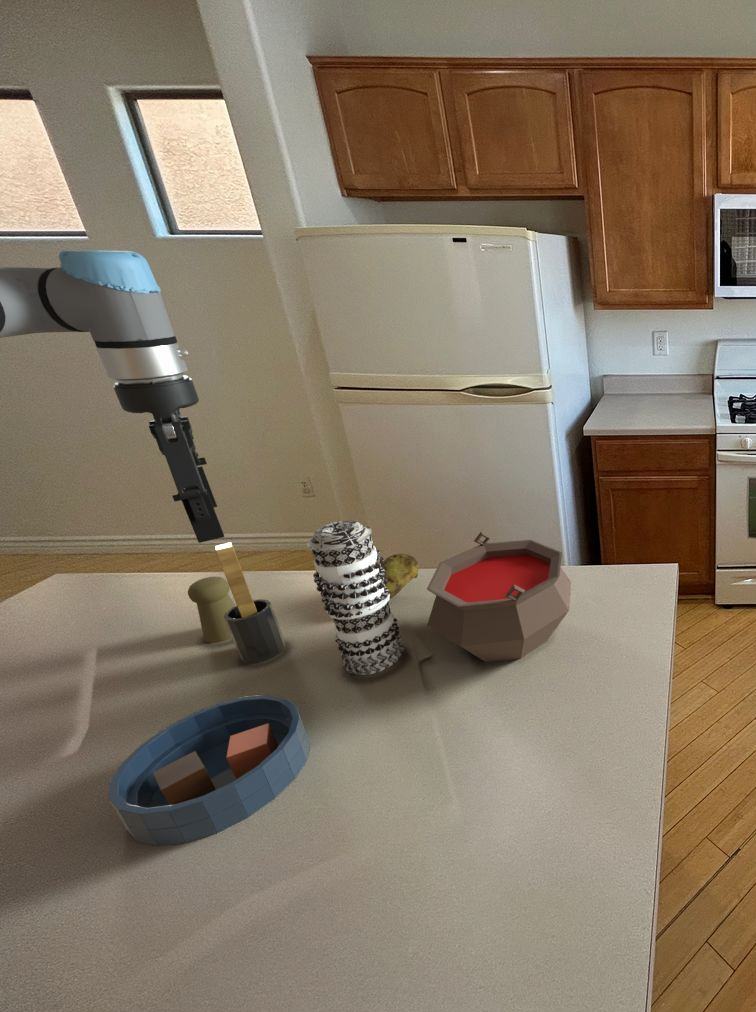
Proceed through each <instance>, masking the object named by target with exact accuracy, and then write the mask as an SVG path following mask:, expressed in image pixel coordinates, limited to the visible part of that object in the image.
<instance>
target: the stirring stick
mask: <svg viewBox="0 0 756 1012" xmlns="http://www.w3.org/2000/svg"><path fill="white" fill-rule="evenodd" d="M214 549H215V553H216V556H217V558H218V561H219V562H220V566H221V568H222V571H223V573H224V577H225V579H226V581H227V582H228V584H229V588H230V589H229V590H230V591H231V593H232V597H233V599H234V601H235V605H236V606H237V607H238V609H239V612H240V614H241V617H242V618H246V617H249V616H252V615H255V614H257V613H258V612H257V609H256V606H255V604H254V601H253V600H254V598H253V596H252V594H251V591H250V587H249V585H248V583H247V580H246V577H245V575H244V572H243V569H242V567H241V564H240V561H239V560H238V556H237V553H236V551H235V548H234V545H233V543H232V542H231V541H230V542H226V543H222V544H217V545H215V546H214Z"/></svg>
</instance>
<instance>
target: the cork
mask: <svg viewBox="0 0 756 1012" xmlns="http://www.w3.org/2000/svg"><path fill="white" fill-rule="evenodd" d="M230 590H231V589H230V586H229V584H228V581H227V579H226V578H224V577H223V576H208V577H204V578H201V579H199V580H196V581H194V582H193V583H191V584H190V585H189V587H188V590H187V595H188V597H189V600H190V601H191V602H193V603H195V604H196V607H197V611H198V617H199V622H200V627H201V630H202V635H203V640H204V641H205V642H206V643H211V644H212V643H213V644H214V643H215V644H216V643H222V642H226V641H229V640H231V639H233V638H232V636H231V633H230V631H229V628H228V626H227V623H226V621H225V618H224V616H225V613H226V612H227V611H229V610H230V609H231V608H233V607H235V606H236V603H234V600H233V599H232V598H231V596H230V595H229V592H230Z"/></svg>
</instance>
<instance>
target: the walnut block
mask: <svg viewBox="0 0 756 1012" xmlns="http://www.w3.org/2000/svg"><path fill="white" fill-rule="evenodd" d="M152 774H153V776H154V779H155V781H156V783H157V785H158V787H159V789H160V791H161V793H162V794H163V796H164V798H165V800H166V802H167V804H168V806H170V805H175V804H178V803H181V802H185V801H188V800H191V799H195V798H198V797H201V796H204V795H206V794H208V793H210V792H212V791H215V790H216V789H215V787H214V785H213V782H212V780H211V778H210V776H209V774H208V772H207V770H206V768H205V766H204V764H203V763H202V761H201V759H200V758H199V756H198V754H197V753H196V751H194V752H192V753H190V754H188V755H186V756H184V757H182V758H180V759H178V760H176V761H174V762H172V763H171V764H169V765H167V766H165V767H163V768H161V769H159V770H157V771H155V772H153V773H152Z"/></svg>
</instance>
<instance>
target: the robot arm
mask: <svg viewBox="0 0 756 1012" xmlns="http://www.w3.org/2000/svg"><path fill="white" fill-rule="evenodd" d="M58 260H59V262H60V265H59V266H60V267H58V266H57V267H25V266H24V267H22V266H0V339H1V338H9V337H10V338H11V337H16V336H25V335H32V334H33V335H34V334H46V333H49V334H50V333H90V337H91V338H92V340H93V342H94V344H95V349H96V352H97V354H98V356H99V358H100V361H101V363H102V365H103V368H104V370H105V372H106V375H107V377H108V379H110V380H114V381H116V382H115V383H114V385H113V386H112V388H113V390H114V392H115V395H116V398H117V399H118V402H119V404H120V407H121V409H122V410H123V411H125V412H127V413H130V414H131V413H132V414H144V413H148V414H151V415H152V416H153V420H150V421H148V423H149V425H148V428H149V432H150V434H151V435H152V437H153V439H155V441H156V444H157V447H158V450H159V451H160V453H161V455H163V456H164V457H165V459H166V463H167V465H168V468H169V471H170V474H171V476H172V479H173V481H174V484H175V488H176V490H177V494H173V495H171V496H172V499H173V501H174V502H175V503H176V502H179V501H181V503H182V505H183V507H184V510H185V513H186V515H187V518H188V520H189V522H190V526H191V527H192V529H193V532H194V535H195V537H196V540H197V542H198V544H200V543H205V542H209V541H213V540H217V539H221V538H225V533H224V531H223V529H222V525H221V523H220V519H219V518H218V516H217V513H216V510H215V508H217V507H218V504H217V502H216V498H215V497H214V494H213V491H212V488H211V485H210V483H209V480H208V478H207V476H206V472H205V470H204V467H203V466H204V465H205V466H206V465H208V463H207V460H206V457H204V456H203V457H199V456H200V455H199V453H198V452H197V451H196V449H197V448H196V445H195V442H194V439H195V438H194V436H193V428H192V424H191V421H190V418H189V416H182V414H181V412H180V411H181V409H186V408H189V407H193V406H195V405H197V404H198V403H199V402H200V397H199V396H198V393H197V390H196V388H195V384H194V381H193V380H192V378H191V377H190V376H188V375H185V374H186V373H187V372H189V371H188V370H189V369H188V366H187V364H186V361H185V359H184V357H188V356H189V354H190V353H189V351H188V350H187V349H185V348H181V349H179V347H180V345H179V343H178V339H177V336H176V334H175V333H174V329H173V327H172V326H173V325H172V324H171V321H170V317H169V315H168V312H167V308H166V305H165V302H164V299H163V296H162V293H161V292H162V290H161V287H160V286H159V285H158V283H157V281H156V278H155V276H154V274H153V272H152V270H151V266H150V265H149V263H148V260H147V259H146V257H144V256H143V255H141V254H140V253H138V252H137V251H131V250H82V249H81V250H79V249H77V250H71V249H66V250H65V249H64V250H61V251H60V252H59V253H58Z"/></svg>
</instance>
